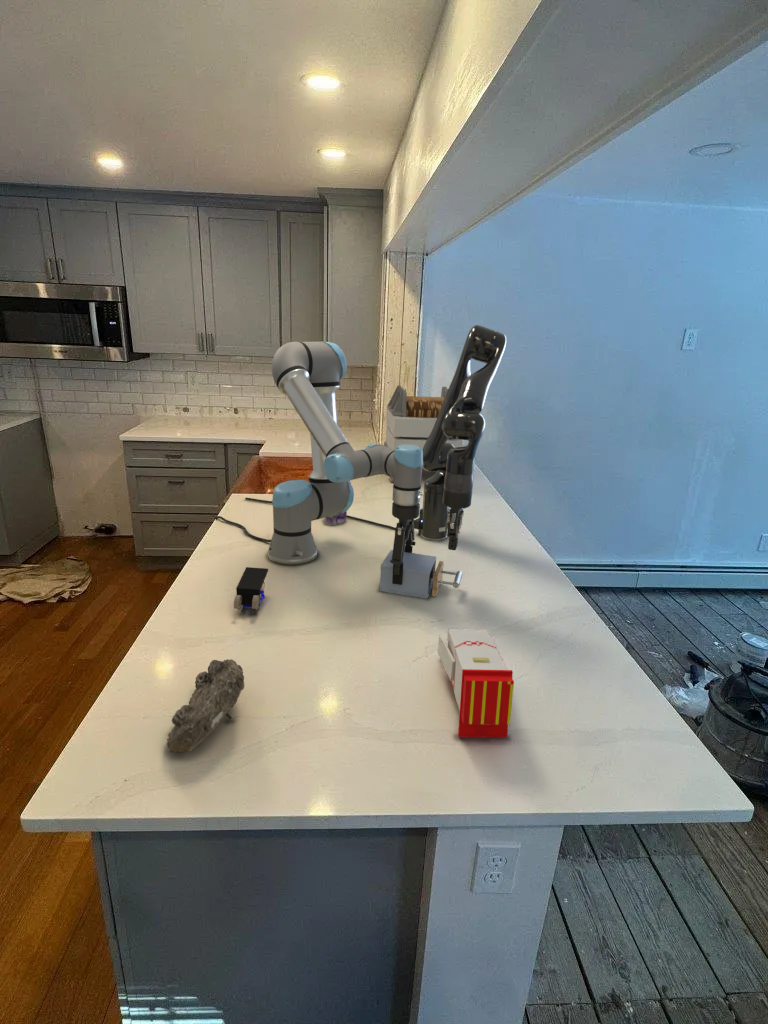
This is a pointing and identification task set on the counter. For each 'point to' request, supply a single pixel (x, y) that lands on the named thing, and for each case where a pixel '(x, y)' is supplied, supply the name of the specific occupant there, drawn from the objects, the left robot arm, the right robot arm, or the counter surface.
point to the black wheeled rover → (250, 589)
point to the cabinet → (409, 575)
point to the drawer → (438, 578)
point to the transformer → (412, 419)
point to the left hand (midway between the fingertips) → (402, 574)
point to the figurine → (336, 519)
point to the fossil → (206, 705)
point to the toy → (478, 682)
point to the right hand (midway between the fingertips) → (452, 547)
